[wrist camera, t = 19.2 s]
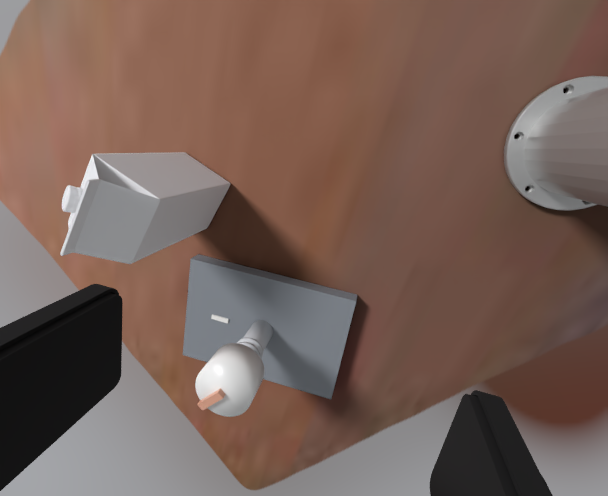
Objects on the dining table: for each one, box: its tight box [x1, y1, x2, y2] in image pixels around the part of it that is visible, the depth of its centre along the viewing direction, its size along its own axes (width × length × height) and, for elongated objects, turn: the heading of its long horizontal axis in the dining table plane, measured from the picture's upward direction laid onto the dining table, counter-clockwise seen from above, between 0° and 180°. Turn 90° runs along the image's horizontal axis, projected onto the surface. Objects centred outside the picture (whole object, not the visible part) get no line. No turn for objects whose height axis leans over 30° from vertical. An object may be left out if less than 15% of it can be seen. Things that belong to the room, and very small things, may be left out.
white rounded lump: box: [195, 343, 265, 417], centre depth 36 cm, size 6×6×5 cm
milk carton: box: [60, 152, 231, 264], centre depth 35 cm, size 7×7×19 cm
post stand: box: [183, 254, 357, 399], centre depth 43 cm, size 22×15×10 cm
